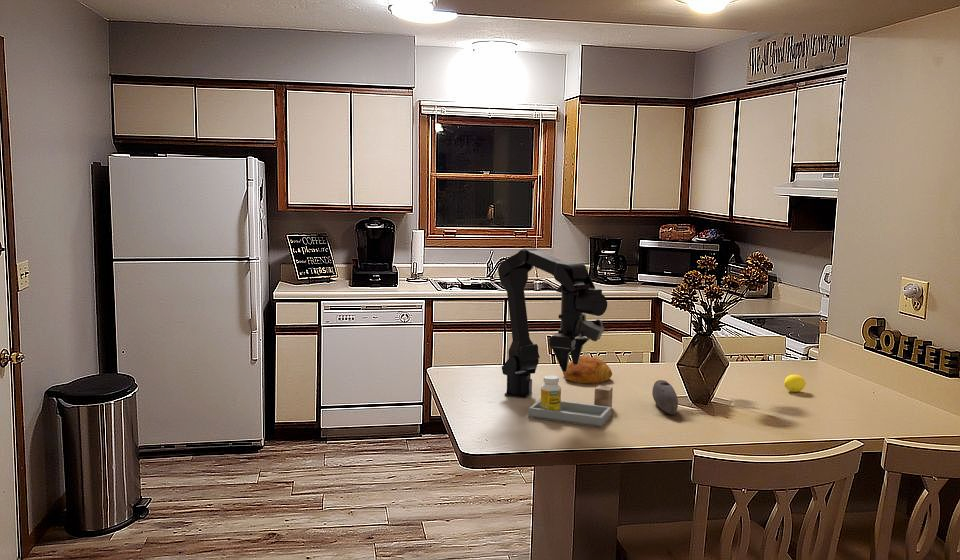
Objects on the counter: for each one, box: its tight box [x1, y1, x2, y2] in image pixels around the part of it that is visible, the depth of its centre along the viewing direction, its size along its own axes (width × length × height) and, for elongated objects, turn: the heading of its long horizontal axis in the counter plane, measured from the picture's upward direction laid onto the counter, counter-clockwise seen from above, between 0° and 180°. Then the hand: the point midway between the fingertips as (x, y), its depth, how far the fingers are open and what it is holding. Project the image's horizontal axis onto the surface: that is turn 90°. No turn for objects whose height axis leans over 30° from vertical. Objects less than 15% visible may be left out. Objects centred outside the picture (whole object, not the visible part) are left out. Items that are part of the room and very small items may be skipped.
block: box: [593, 384, 614, 409], centre depth 221 cm, size 4×4×6 cm
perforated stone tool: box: [652, 379, 679, 415], centre depth 221 cm, size 15×5×7 cm, turn 1°
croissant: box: [562, 355, 613, 385], centre depth 253 cm, size 14×16×8 cm
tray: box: [528, 398, 612, 429], centre depth 213 cm, size 20×11×3 cm, turn 67°
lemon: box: [783, 374, 807, 393], centre depth 242 cm, size 7×5×5 cm
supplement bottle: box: [540, 375, 562, 411], centre depth 214 cm, size 5×5×10 cm
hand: (570, 367), depth 215 cm, fingers open, 9 cm apart
